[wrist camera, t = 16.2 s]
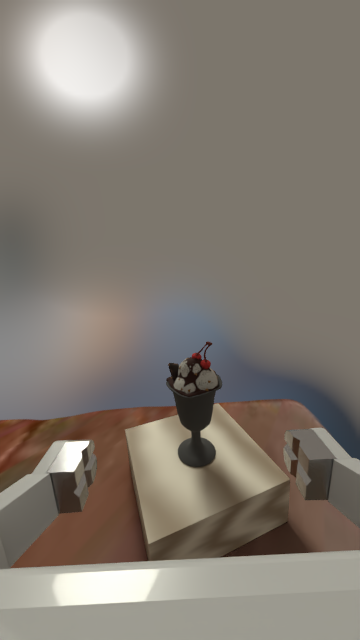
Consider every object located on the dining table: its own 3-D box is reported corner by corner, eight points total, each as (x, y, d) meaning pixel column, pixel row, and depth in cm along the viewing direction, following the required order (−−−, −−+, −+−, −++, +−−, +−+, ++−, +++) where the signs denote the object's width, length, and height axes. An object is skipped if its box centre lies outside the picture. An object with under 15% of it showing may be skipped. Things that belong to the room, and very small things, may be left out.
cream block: (154, 592, 22) (148, 544, 20) (129, 462, 36) (125, 429, 35) (287, 521, 27) (290, 479, 26) (218, 433, 42) (218, 403, 40)
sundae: (234, 458, 29) (234, 343, 25) (187, 483, 26) (180, 357, 22) (204, 427, 34) (201, 330, 31) (163, 445, 31) (154, 340, 28)
